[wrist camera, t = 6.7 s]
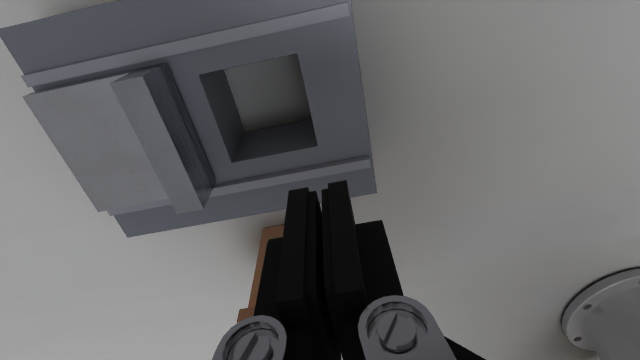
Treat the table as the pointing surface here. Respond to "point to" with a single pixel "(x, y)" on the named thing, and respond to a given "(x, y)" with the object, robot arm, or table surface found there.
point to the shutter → (127, 139)
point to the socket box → (222, 91)
